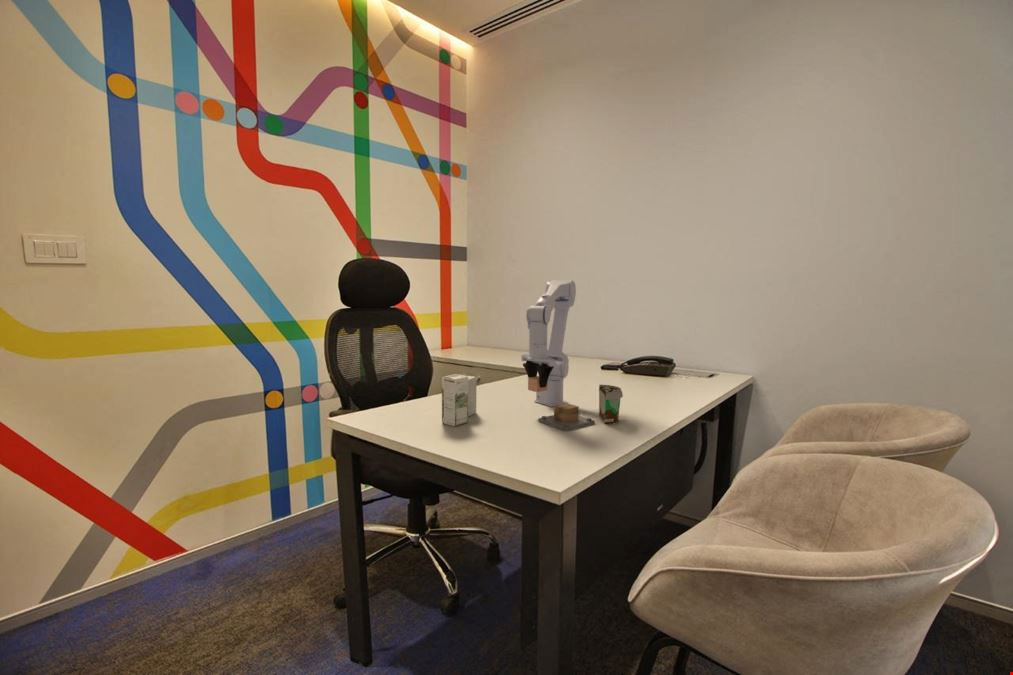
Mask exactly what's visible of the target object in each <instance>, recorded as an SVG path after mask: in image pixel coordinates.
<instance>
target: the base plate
mask: <svg viewBox="0 0 1013 675" xmlns="http://www.w3.org/2000/svg"><path fill="white" fill-rule="evenodd" d="M537 420H538V422H539V423H542V424H545V425H547V426H549V427H553V428H556V429H559V430H562V431H565V432H568V431H571V430H576V429H578V428H579V429H580V428H584V427H586V426H587V425H588V426H591V425H595V423H596V421H595V419H592V417H584V416H581V415H578V420H574V421H569V422H565V423H563V422H560V421H557V420H554V414H553V415H552V414H551V415H547V416H546V415H542V416H541V417H538V419H537ZM583 426H584V427H583Z"/></svg>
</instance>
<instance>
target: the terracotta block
mask: <svg viewBox="0 0 1013 675" xmlns="http://www.w3.org/2000/svg"><path fill="white" fill-rule="evenodd" d="M527 378H528V377H527ZM527 389H528V391H531V392H534V393H536V392H542V391H548V381H547V385H546V387H542V388H541V387H540V385H539V375H537V376H536V377H529V378H528V379H527Z"/></svg>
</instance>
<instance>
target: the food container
mask: <svg viewBox="0 0 1013 675" xmlns="http://www.w3.org/2000/svg"><path fill="white" fill-rule="evenodd" d="M598 386H599V387H598V392H599V394H598V396H599V400H598V401H599V402H598V407H599V409H598V411H599V412H598V416H599V418H600V420H601V422H602V423H603V425H604V424H608V425H614V424H613V423H615V424H617V423H618V422H619V419H620V418H619V417H620V416H619V415H620V405H621V398H623V397H624V395H623V391H622V388H621V387H619V386H616V385H612V384H610V385H609V384H599V385H598ZM616 422H617V423H616Z"/></svg>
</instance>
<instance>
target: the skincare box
mask: <svg viewBox="0 0 1013 675" xmlns="http://www.w3.org/2000/svg"><path fill="white" fill-rule="evenodd" d="M466 376H467V377H468V418H469V417H470V416H472V415H474V414H476V413H477V376H473V375H472V376H471V375H466Z"/></svg>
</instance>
